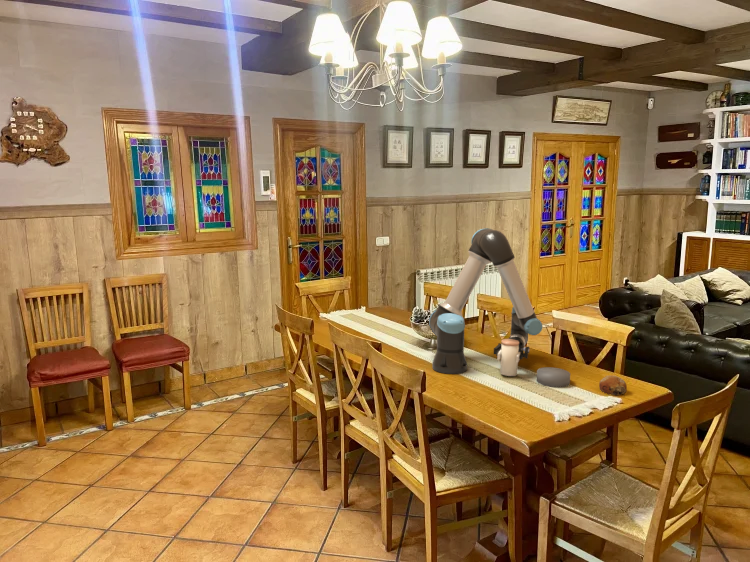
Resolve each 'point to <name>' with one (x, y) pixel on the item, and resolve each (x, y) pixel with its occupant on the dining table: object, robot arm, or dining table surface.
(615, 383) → the bread roll
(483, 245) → the robot arm
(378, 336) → the dining table surface
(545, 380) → the plinth
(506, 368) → the canister
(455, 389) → the dining table surface
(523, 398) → the dining table surface
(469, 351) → the dining table surface
